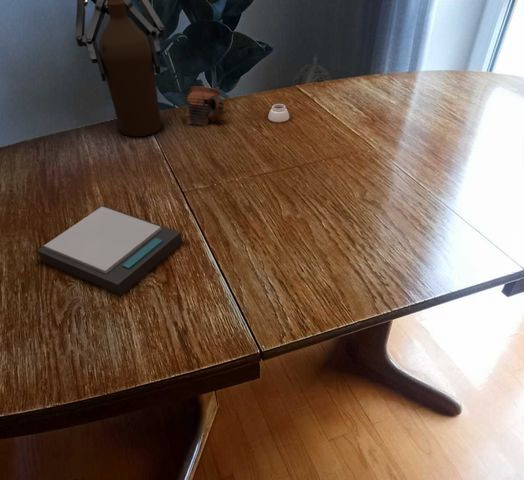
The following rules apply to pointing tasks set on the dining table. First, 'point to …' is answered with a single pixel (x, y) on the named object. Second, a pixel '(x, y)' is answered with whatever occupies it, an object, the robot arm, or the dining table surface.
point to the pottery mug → (203, 105)
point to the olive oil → (129, 73)
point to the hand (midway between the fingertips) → (131, 73)
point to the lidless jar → (278, 113)
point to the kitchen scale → (111, 249)
